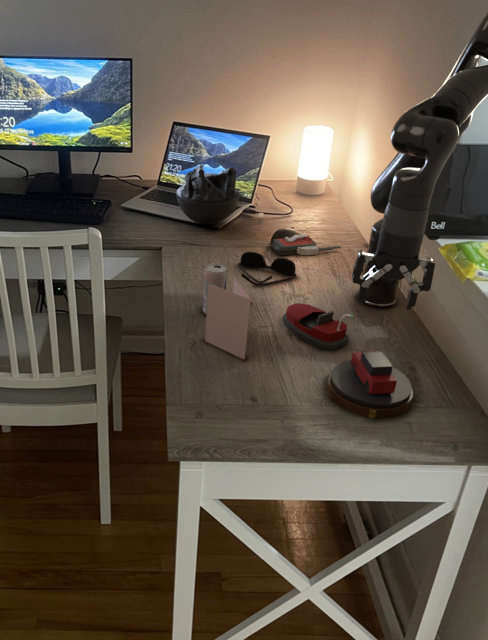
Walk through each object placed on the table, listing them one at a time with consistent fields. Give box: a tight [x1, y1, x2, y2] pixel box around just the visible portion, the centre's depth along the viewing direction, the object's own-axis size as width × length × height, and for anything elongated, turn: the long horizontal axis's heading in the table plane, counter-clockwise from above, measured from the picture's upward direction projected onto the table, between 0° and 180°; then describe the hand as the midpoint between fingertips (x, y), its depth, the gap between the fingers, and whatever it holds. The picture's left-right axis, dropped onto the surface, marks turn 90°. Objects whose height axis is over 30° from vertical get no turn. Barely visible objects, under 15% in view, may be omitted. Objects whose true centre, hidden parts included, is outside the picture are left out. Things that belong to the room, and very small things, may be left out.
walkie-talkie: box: [272, 233, 342, 256], centre depth 203 cm, size 9×4×20 cm
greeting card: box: [204, 276, 253, 360], centre depth 152 cm, size 11×7×15 cm, turn 12°
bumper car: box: [282, 302, 356, 351], centre depth 159 cm, size 10×20×10 cm, turn 32°
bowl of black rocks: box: [176, 164, 240, 225], centre depth 217 cm, size 20×20×19 cm
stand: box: [326, 370, 414, 419], centre depth 141 cm, size 17×17×2 cm
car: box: [331, 350, 413, 407], centre depth 138 cm, size 16×16×6 cm
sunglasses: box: [237, 251, 298, 287], centre depth 185 cm, size 17×14×5 cm
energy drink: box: [202, 263, 228, 315], centre depth 167 cm, size 5×5×12 cm
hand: (385, 304), depth 133 cm, fingers open, 8 cm apart
